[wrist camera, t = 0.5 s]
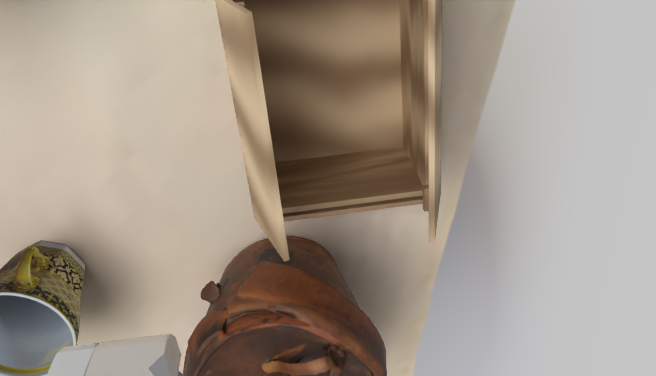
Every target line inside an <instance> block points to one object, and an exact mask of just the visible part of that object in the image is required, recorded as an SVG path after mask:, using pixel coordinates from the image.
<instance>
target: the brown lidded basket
mask: <svg viewBox="0 0 656 376" xmlns="http://www.w3.org/2000/svg"><path fill="white" fill-rule="evenodd" d="M286 239H287V246H288V253H289V259H290V260H288V261H285V262H284V260H283V259H282V257H281V256H280V255H279V253H278V252H277V250H276V249H275V247H274V246H273V244H272V243H271V241H270V240H269V239H266V240H262V241H260V242H257V243H255V244H253V245H251V246H249V247H247V248H246V249H244V250H243V251H242V252H241V253H239V254H238V255H237V256H236V257H235V258H234V259H233V260H232V261H231V263H230V264H229V265H228V266H227V268H226V269H225V271H224V273H223V276H222V278H221V280H220V283H217V284H215V283H214V282H213V281H211V282H209V283H208V284H207V285H206V286H205V287H204V288H203V289H202V292H201V298H202V299H203V300H206V301H208V302H210V303H211V304H210V306H209V309H208V311H207V314H206V316H205V317H204V318H203V319H202V320H201V321H200V322H199V323H198V325H197V327H196V328H195V330H194V332H193V333H192V335H191V337H190V339H189V340H188V348H187V351H186V357H185V362H184V370H183V375H185V376H387V370H386V350H385V346H384V342H383V340H382V338H381V336H380V334H379V332H378V331H377V329H376V327H375V326H374V324H373V323H372V322H371V320H370V319H369V317H367V316H366V314H365V313H364V312H363V311H362V310H360V308H359V306H358V304H357V303H356V301H355V299H354V297H353V295H352V294H351V292H350V290H349V288H348V286H347V285H346V283H345V281H344V279H343V278H342V276H341V274H340V272H339V271H338V269H337V266H336V264H335V262H334V260H333V258H332V257H331V255H330V254H329V253H328V252H327V251H326V250H325V249H324V248H323V247H321V246H320V245H318V244H317V243H315V242H312V241H310V240H306V239H302V238H296V237H286Z"/></svg>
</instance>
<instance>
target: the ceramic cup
mask: <svg viewBox="0 0 656 376" xmlns="http://www.w3.org/2000/svg"><path fill="white" fill-rule="evenodd" d="M84 272H85V264H84V262H83V261H82V260H81V259H80V258H79V257H78V256H77V255H76V254H75V253H74V252H73V251H72V250H71V249H70V248H69V247H68V246H67V245H64V244H58V243H53V242H47V241H39V242H37V243H35V244H33V245H31V246H29V247H28V248H26V249H24V250H22V251H20V252H19V253H17V254H16V255H15V256H14V257H13V258H11V260H10V261H9V262H8V263H7V264H6V265H4V266H3V267H2V268H1V269H0V376H47V374H48V371H49V369H50V367H51V364H52V362H53V360H54V358H55V355H56V354H57V353H58V352H59V351H60V350H61V349H63V348H64V347H67V346H76V344H77V339H78V333H79V325H80V299H81V293H82V287H83V280H84Z"/></svg>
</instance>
